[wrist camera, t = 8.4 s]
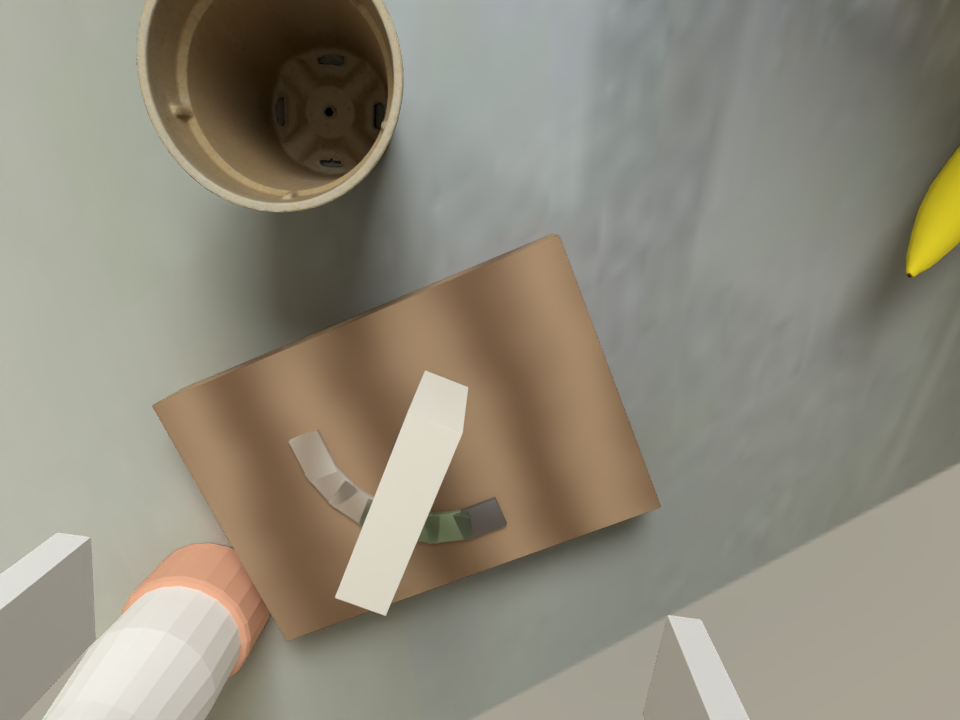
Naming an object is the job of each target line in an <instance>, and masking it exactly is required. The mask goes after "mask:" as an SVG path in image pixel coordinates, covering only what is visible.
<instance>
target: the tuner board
mask: <svg viewBox="0 0 960 720" xmlns="http://www.w3.org/2000/svg"><path fill="white" fill-rule="evenodd" d="M425 370H426V371H428V372H431V373H433V374H436V375H438V376H441V377H444V378H446V379H449V380H451V381H454V382H456V383H459V384H461V385H464V386H467V387H468V394H467V402H466V410H465V418H464V426H463V433H462V436H461V438H460V441H459V443H458V445H457V448H456V450H455V452H454V455H453V457H452V460H451V462H450V464H449V467H448V469H447V471H446V474H445V476H444V479H443V481H442V483H441V486H440V488H439V491H438V493H437V495H436V498H435V500H434V502H433V505H432V507H431V510H430V512H429V514H428V517H427V519H426V521H425V524H424V526H423V529H422V531H421V533H420V536H419V538H418V540H417V543H416V545H415V548H414V550H413V552H412V555H411V557H410V559H409V562H408V564H407V567H406V569H405V571H404V574H403V576H402V578H401V581H400V583H399V586H398V588H397V590H396V593H395V595H394V597H393V600H392V602H391V604H392V603H395V602H397V601H400V600H403V599H406V598H409V597H411V596H414V595H417V594H420V593H423V592H425V591H428V590H431V589H434V588H436V587H439V586H442V585H445V584H448V583H450V582H453V581H456V580H459V579H462V578H464V577H467V576H470V575H473V574H476V573H478V572H481V571H484V570H487V569H490V568H492V567H495V566H498V565H501V564H504V563H506V562H509V561H512V560H515V559H517V558H520V557H523V556H526V555H529V554H531V553H534V552H537V551H540V550H543V549H545V548H548V547H551V546H554V545H557V544H559V543H562V542H565V541H568V540H571V539H573V538H576V537H579V536H582V535H585V534H587V533H590V532H593V531H596V530H599V529H601V528H604V527H607V526H610V525H612V524H615V523H618V522H621V521H624V520H626V519H629V518H632V517H635V516H638V515H640V514H643V513H646V512H649V511H652V510H654V509H657V508H660V507H661V505H660V502H659V500H658V497H657V494H656V492H655V489H654V486H653V484H652V481H651V478H650V476H649V473H648V470H647V468H646V465H645V462H644V460H643V457H642V454H641V452H640V449H639V446H638V444H637V441H636V438H635V436H634V433H633V430H632V428H631V425H630V422H629V420H628V417H627V414H626V412H625V409H624V406H623V404H622V401H621V398H620V396H619V393H618V390H617V388H616V385H615V382H614V380H613V377H612V374H611V372H610V369H609V366H608V364H607V361H606V358H605V356H604V353H603V350H602V348H601V345H600V342H599V340H598V337H597V334H596V332H595V329H594V326H593V324H592V321H591V318H590V316H589V313H588V310H587V308H586V305H585V302H584V300H583V297H582V294H581V292H580V289H579V286H578V284H577V281H576V278H575V276H574V273H573V270H572V268H571V265H570V262H569V260H568V257H567V254H566V252H565V249H564V246H563V244H562V241H561V238H560V236H559V235H556V234H551V235H548V236H546V237H543V238H541V239H539V240H536V241H534V242H531V243H529V244H527V245H524V246H522V247H520V248H517V249H515V250H512V251H510V252H508V253H505V254H503V255H500V256H498V257H496V258H493V259H491V260H488V261H486V262H484V263H481V264H479V265H477V266H474V267H472V268H469V269H467V270H465V271H462V272H460V273H457V274H455V275H453V276H450V277H448V278H445V279H443V280H441V281H438V282H436V283H433V284H431V285H429V286H426V287H424V288H422V289H419V290H417V291H414V292H412V293H410V294H407V295H405V296H402V297H400V298H398V299H395V300H393V301H390V302H388V303H386V304H383V305H381V306H379V307H376V308H374V309H371V310H369V311H367V312H364V313H362V314H359V315H357V316H355V317H352V318H350V319H347V320H345V321H343V322H340V323H338V324H336V325H333V326H331V327H328V328H326V329H324V330H321V331H319V332H316V333H314V334H312V335H309V336H307V337H304V338H302V339H300V340H297V341H295V342H293V343H290V344H288V345H285V346H283V347H281V348H278V349H276V350H273V351H271V352H269V353H266V354H264V355H261V356H259V357H257V358H254V359H252V360H250V361H247V362H245V363H242V364H240V365H238V366H235V367H233V368H230V369H228V370H226V371H223V372H221V373H218V374H216V375H214V376H211V377H209V378H207V379H204V380H202V381H199V382H197V383H195V384H192V385H190V386H187V387H185V388H183V389H181V390H179V391H177V392H175V393H174V394H172V395H170V396H168V397H166V398H165V399H163V400H161V401H159V402H157V403H156V404H154V405H152V407H153V409H154V410H155V412H156V414H157V416H158V417H159V419H160V421H161V423H162V424H163V426H164V428H165V430H166V431H167V433H168V435H169V437H170V438H171V440H172V442H173V444H174V445H175V447H176V449H177V450H178V452H179V454H180V456H181V457H182V459H183V461H184V463H185V464H186V466H187V468H188V470H189V471H190V473H191V475H192V477H193V478H194V480H195V482H196V484H197V485H198V487H199V489H200V491H201V492H202V494H203V496H204V498H205V499H206V501H207V503H208V505H209V506H210V508H211V510H212V512H213V513H214V515H215V517H216V519H217V520H218V522H219V524H220V526H221V527H222V529H223V531H224V533H225V534H226V536H227V538H228V540H229V541H230V543H231V545H232V547H233V548H234V550H235V552H236V554H237V555H238V557H239V559H240V561H241V562H242V564H243V566H244V568H245V569H246V571H247V573H248V575H249V576H250V578H251V580H252V582H253V583H254V585H255V587H256V589H257V590H258V592H259V594H260V596H261V597H262V599H263V601H264V603H265V604H266V606H267V608H268V610H269V611H270V613H271V615H272V617H273V618H274V620H275V622H276V624H277V625H278V627H279V629H280V631H281V632H282V634H283V636H284V638H285V639H286V641H288V640H291V639H294V638H297V637H300V636H302V635H305V634H308V633H311V632H314V631H316V630H319V629H322V628H325V627H328V626H330V625H333V624H336V623H339V622H342V621H344V620H347V619H350V618H353V617H355V616H358V615H361V614H364V613H367V612H369V611H370V610H368V609H365V608H362V607H359V606H356V605H354V604H351V603H348V602H345V601H342V600H340V599H337V598H335V596H336V593H337V591H338V588H339V586H340V583H341V581H342V578H343V575H344V573H345V570H346V568H347V565H348V563H349V560H350V558H351V555H352V553H353V550H354V547H355V545H356V542H357V540H358V537H359V535H360V532H361V530H362V527H363V525H364V522H365V519H366V517H367V514H368V512H369V509H370V507H371V504H372V502H373V499H374V497H375V494H376V491H377V489H378V486H379V484H380V481H381V479H382V476H383V474H384V471H385V469H386V466H387V463H388V461H389V458H390V456H391V450H392V447H393V444H394V442H395V440H396V437H397V435H398V433H399V430H400V428H401V426H402V423H403V421H404V418H405V416H406V414H407V411H408V409H409V407H410V404H411V402H412V400H413V398H414V396H415V393H416V391H417V389H418V386H419V384H420V382H421V379H422V377H423V374H424V372H425Z"/></svg>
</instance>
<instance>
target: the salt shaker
mask: <svg viewBox="0 0 960 720" xmlns="http://www.w3.org/2000/svg"><path fill="white" fill-rule="evenodd" d="M269 616H270V611H269V610H268V608H267V606H266V604H265V603H264V601H263V599H262V597H261V596H260V594H259V592H258V590H257V589H256V587H255V585H254V583H253V582H252V580H251V578H250V576H249V575H248V573H247V571H246V569H245V568H244V566H243V564H242V562H241V561H240V559H239V557H238V555H237V554H236V552H235V550H234V549H232V548H230V547H226V546H221V545H217V544H213V543H207V544H192V545H189V546H186V547H184V548H181V549H178V550H176V551H175V552H173V553H172V554H171V555H170V556H169V557H167V558H166V559H165V560H164V561H163V562H162V563H161V564H160V565H159V566H158V567H157V568H156V569H155V570H154V571H153V572H152V573H151V574H150V575H149V576H148V577H147V578H146V579H145V581H144V582H143V583H142V584H141V585H140V586H139V587H138V588H137V589H136V590H135V591H134V592H133V593H132V594H131V595H130V597H129V599H128V601H127V602H126V604H125V606H124V608H123V610H122V613H121V616H120V617H119V618H118V619H117V620H116V621H115V622H114V623H113V624H112V625H111V626H110V627H109V628H108V629H107V631H106V632H105V633H104V634H103V635H102V636H101V637H100V638H99V639H98V640H97V641H96V642H95V643H94V644H93V645H92V646H91V647H90V648H89V650H88V651H87V653H86V654H85V656H84V657H83V659H82V660H81V662H80V663H79V665H78V666H77V668H76V670H75V671H74V672H73V674H72V676H71V677H70V678H69V680H68V681H67V683H66V685H65V686H64V687H63V689H62V690H61V692H60V693H59V695H58V696H57V698H56V700H55V701H54V703H53V704H52V705H51V707H50V708H49V710H48V711H47V713H46V714H45V716H44V717H43V719H42V720H205V719H206V717H207V715H208V714H209V712H210V711H211V709H212V707H213V706H214V704H215V702H216V700H217V698H218V696H219V694H220V692H221V690H222V688H223V686H224V685H225V683H226V681H227V679H228V678H230V677H231V676H232V675H234V674H235V673H236V672H238V671H239V669H240V668H241V666H242V665H243V663H244V661H245V660H246V658H247V657H248V655H249V653H250V651H251V650H252V648H253V646H254V644H255V642H256V640H257V639H258V637H259V635H260V633H261V631H262V630H263V628H264V626H265V624H266V622H267V621H268V619H269Z"/></svg>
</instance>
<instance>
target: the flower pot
mask: <svg viewBox="0 0 960 720" xmlns="http://www.w3.org/2000/svg"><path fill="white" fill-rule="evenodd" d="M325 56H341V57H344V61H345V62H344V63H343V65H341V66H337V65H334V64H320V63H319V61H318V59H319V58H324V57H325ZM136 60H137V62H136V63H137V66H138V75H139V81H140V87H141V91H142V96H143V99H144V103H145V106H146V109H147V112H148V114H149V116H150V119H151V121H152V124H153V126H154V128H155V130H156V132H157V134H158V135H159V137H160V139H161V140H162V142H163V144H164V145H165V147H166V148H167V150H168V152H169V153H170V154H171V156H172V157H173V158H174V159H175V160H176V161H177V163H178V164H179V165H180V166H181V167H182V168H183V169H184V170H185V171H186V172H187V173H188V174H189V175H190V176H191V177H192V178H193V179H195V180H196V181H197V182H198V183H199V184H200V185H202V186H203V187H204V188H205V189H207V190H209V191H211V192H212V193H214V194H216V195H217V196H219V197H221V198H223V199H225V200H227V201H230V202H232V203H234V204H237V205H239V206H243V207H246V208H250V209H255V210H259V211H267V212H294V211H303V210H307V209H311V208H315V207H319V206H322V205H324V204H327V203H329V202H331V201H333V200H335V199H337V198H339V197H340V196H342V195H344V194H346V193H347V192H348V191H350V190H351V189H353V188H354V187H355V186H357V185H358V184H359V183H360V182H361V181H362V180H363V179H364V178H365V177H366V176H367V175H368V174H369V173H370V172H371V170H372V169H373V168H374V167H375V165H376V164H377V163H378V161H379V160H380V158H381V157H382V155H383V153H384V152H385V150H386V148H387V146H388V144H389V142H390V140H391V138H392V135H393V133H394V130H395V127H396V124H397V122H398V118H399V113H400V109H401V104H402V96H403V63H402V56H401V50H400V45H399V41H398V37H397V34H396V30H395V27H394V24H393V21H392V19H391V16H390V14H389V12H388V9H387V7H386V5H385V3H384V1H383V0H146V2H145V5H144V8H143V11H142V15H141V20H140V22H139V29H138V37H137V59H136ZM280 98H284V118H285V124H284V125H280V124H279V120H278V118H277V109H276V105H277V102H278V100H279V99H280ZM377 103H381V104H382V105H383V106H384V109H385V112H384V119H383V122H382V124H381V129H380V130H379V129H376V128H375V127H374V114H375V109H374V108H375V107H374V105H375V104H377ZM327 108H331V109H332V110H333V113H334V114H333V115H332V116H330V117H328V116H327V115H326V114H325V110H326V109H327ZM331 158H333V159H332V160H334V161H338V162H339V161H340V162H341V163H342V167H329V166H324V165H322V164H321V163H320V160H330V159H331Z"/></svg>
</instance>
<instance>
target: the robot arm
mask: <svg viewBox="0 0 960 720" xmlns="http://www.w3.org/2000/svg"><path fill="white" fill-rule="evenodd" d="M95 639H96V635H95V614H94V594H93V573H92V552H91V537H86V536H78V535H71V534H64V533H56V534H55V535H53V536H52V537H51V538H49V539H48V540H46V541H45V542H44V543H42V544H41V545H40V546H38V547H37V548H36V549H34V550H33V551H31V552H30V553H29V554H27V555H26V556H25V557H23V558H22V559H21V560H19V561H18V562H16V563H15V564H14V565H12V566H11V567H10V568H8V569H7V570H6V571H4V572H3V573H1V574H0V720H20V719H21V718H22V717H23V716H24V715H25V714H26V713H27V712H28V711H29V710H30V709H31V708H32V707H33V705H34V704H35V703H36V702H37V701H38V700H39V699H40V698H41V697H42V696H43V695H44V694H45V693H46V692H47V690H49V688H50V687H51V686H52V685H53V684H54V683H55V682H56V681H57V680H58V679H59V678H60V677H61V676H62V675H63V673H64V672H65V671H66V670H67V669H68V668H69V667H70V666H71V665H72V664H73V663H74V662H75V661H76V660H77V658H79V656H80V655H81V654H82V653H83V652H84V651H85V650H86V649H87V648H88V647H89V646H90V645H91V644H92V643H93V642H94V641H95ZM643 715H644V719H645V720H750V719H749V717H748V715H747V713H746V711H745V709H744V707H743V705H742V703H741V701H740V699H739V697H738V695H737V693H736V691H735V689H734V686H733V685H732V682H731V680H730V678H729V676H728V674H727V672H726V670H725V668H724V666H723V664H722V662H721V660H720V658H719V656H718V653H717V651H716V650H715V648H714V645H713V643H712V641H711V639H710V637H709V635H708V633H707V631H706V629H705V627H704V625H703V623H702V621H701V620H700V619H693V618H686V617H678V616H671V615H667V619H666V623H665V627H664V631H663V635H662V639H661V643H660V647H659V651H658V655H657V659H656V663H655V667H654V671H653V675H652V679H651V683H650V687H649V691H648V695H647V699H646V703H645V707H644V711H643Z"/></svg>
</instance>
